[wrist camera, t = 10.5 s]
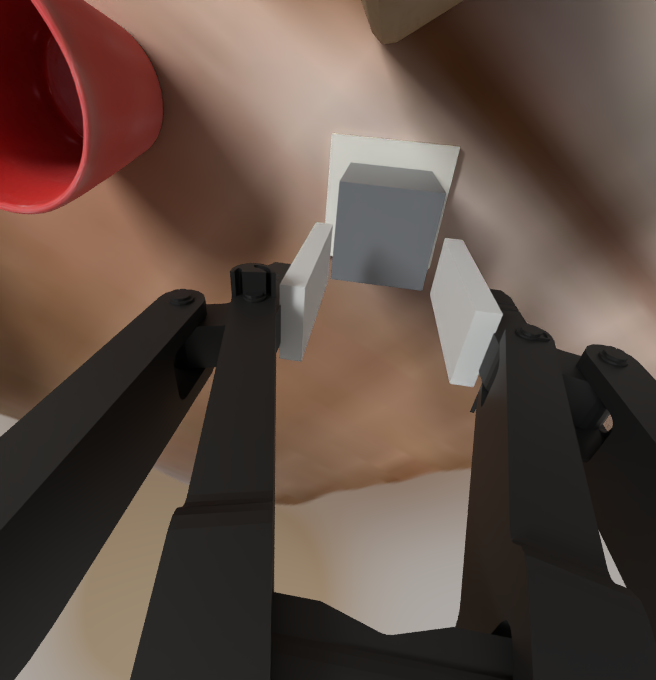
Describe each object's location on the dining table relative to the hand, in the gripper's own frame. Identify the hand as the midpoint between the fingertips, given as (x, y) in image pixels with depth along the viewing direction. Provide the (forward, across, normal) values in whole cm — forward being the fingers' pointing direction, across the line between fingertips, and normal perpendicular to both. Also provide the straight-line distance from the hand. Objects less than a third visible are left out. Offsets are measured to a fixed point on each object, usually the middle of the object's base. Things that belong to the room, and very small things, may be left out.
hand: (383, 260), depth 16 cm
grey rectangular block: (+10, 0, 0) cm, 10 cm away
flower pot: (+11, -19, +5) cm, 22 cm away
